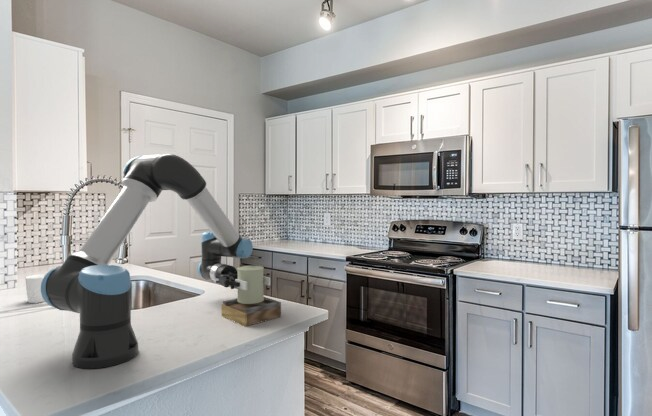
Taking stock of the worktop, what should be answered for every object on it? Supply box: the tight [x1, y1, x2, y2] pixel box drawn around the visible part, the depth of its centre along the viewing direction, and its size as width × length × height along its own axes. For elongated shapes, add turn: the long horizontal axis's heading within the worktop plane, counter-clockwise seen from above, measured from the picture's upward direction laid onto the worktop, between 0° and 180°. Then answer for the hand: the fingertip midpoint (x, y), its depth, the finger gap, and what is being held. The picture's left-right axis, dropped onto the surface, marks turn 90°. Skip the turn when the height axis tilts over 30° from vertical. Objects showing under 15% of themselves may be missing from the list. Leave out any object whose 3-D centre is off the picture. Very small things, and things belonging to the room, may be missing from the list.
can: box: [236, 265, 265, 304], centre depth 137 cm, size 9×9×12 cm
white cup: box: [25, 273, 47, 304], centre depth 156 cm, size 8×8×10 cm
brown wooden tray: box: [221, 296, 282, 327], centre depth 137 cm, size 15×15×5 cm
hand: (258, 283), depth 133 cm, fingers closed on can, 9 cm apart
